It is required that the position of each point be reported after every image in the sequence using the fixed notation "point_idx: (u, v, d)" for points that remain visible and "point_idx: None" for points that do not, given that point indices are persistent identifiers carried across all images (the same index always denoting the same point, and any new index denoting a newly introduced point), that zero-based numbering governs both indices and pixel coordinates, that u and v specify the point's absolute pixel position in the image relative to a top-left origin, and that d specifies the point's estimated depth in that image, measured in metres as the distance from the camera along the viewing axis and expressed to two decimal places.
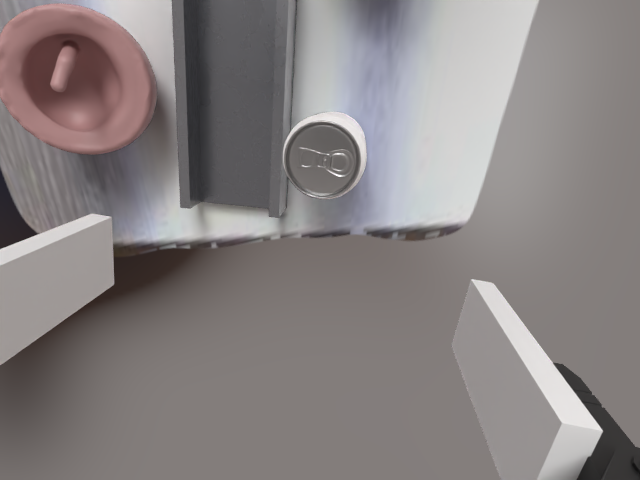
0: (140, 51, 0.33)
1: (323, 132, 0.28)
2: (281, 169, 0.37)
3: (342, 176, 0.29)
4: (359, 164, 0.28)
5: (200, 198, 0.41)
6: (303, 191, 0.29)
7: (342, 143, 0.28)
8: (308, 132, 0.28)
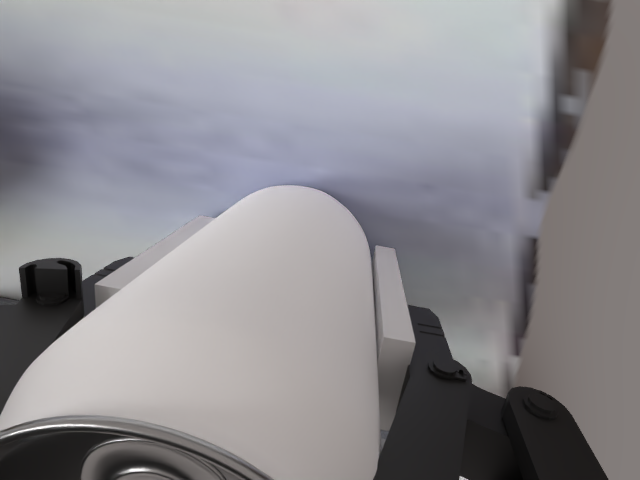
0: None
1: None
2: None
3: None
4: (136, 432, 0.04)
5: None
6: None
7: (50, 479, 0.05)
8: None
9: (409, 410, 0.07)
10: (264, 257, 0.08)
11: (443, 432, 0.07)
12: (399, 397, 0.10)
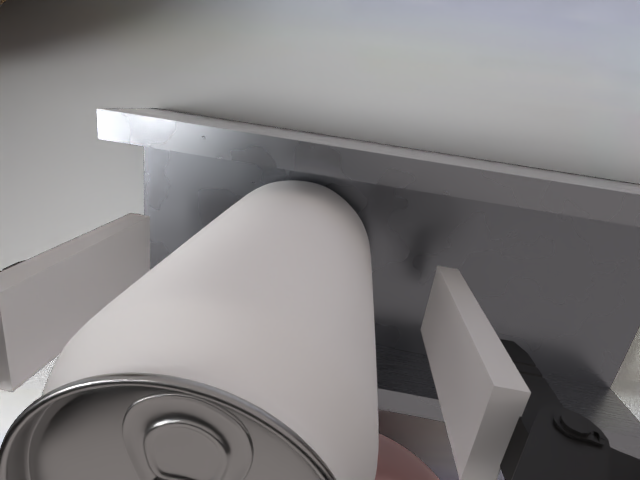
0: None
1: None
2: (618, 190, 0.13)
3: (251, 452, 0.06)
4: (175, 386, 0.05)
5: (604, 391, 0.18)
6: None
7: (96, 430, 0.06)
8: None
9: (532, 469, 0.06)
10: (274, 246, 0.09)
11: None
12: (505, 451, 0.09)
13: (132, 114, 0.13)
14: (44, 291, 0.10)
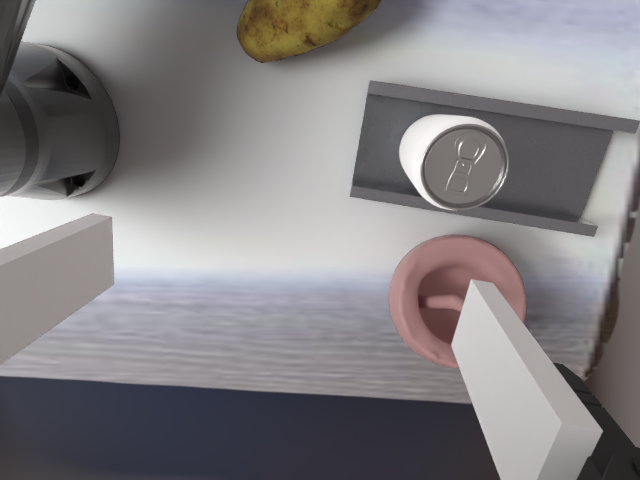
0: (435, 239, 0.35)
1: (432, 164, 0.26)
2: (578, 112, 0.32)
3: (485, 146, 0.25)
4: (475, 125, 0.25)
5: (577, 217, 0.37)
6: (495, 192, 0.26)
7: (448, 144, 0.25)
8: (430, 180, 0.26)
9: None
10: None
11: None
12: None
13: None
14: None
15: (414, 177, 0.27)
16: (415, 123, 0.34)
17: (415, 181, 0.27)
